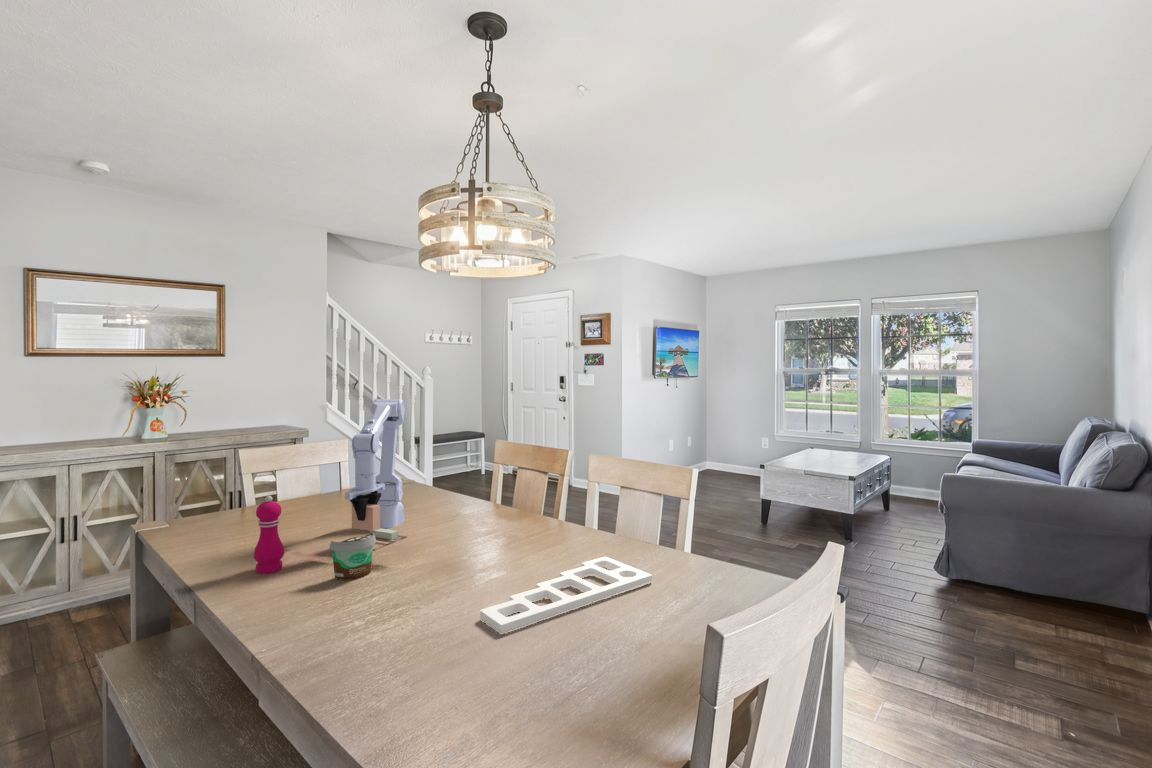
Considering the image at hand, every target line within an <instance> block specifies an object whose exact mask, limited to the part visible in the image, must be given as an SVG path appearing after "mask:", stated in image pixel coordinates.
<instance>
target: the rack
mask: <svg viewBox="0 0 1152 768" xmlns="http://www.w3.org/2000/svg"><path fill="white" fill-rule="evenodd" d="M398 537H401V538H399V539H396V540H389V539H383V538H376V543H375V545H381V546H379V547H376V548H373V552H375V551H378V550H380V549H383V548H384V547H387V546H389V545H392V544H395V543H397V542H399V541H401V540H404V539H406V538H407V536H404V535H400V534H398ZM377 541H380V542H377ZM383 542H385V543H383ZM386 542H387V543H386Z"/></svg>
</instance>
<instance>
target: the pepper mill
mask: <svg viewBox="0 0 1152 768" xmlns="http://www.w3.org/2000/svg"><path fill="white" fill-rule="evenodd" d="M264 500H265V501H264V502H262V503H260V504H258V506H257V508H256V510H255V515H256V517H257V519H259V520H258V524H257V525H258V527H259V530H260V531H259V537H258V541H257V544H256V546H255V548H254V551H253V559H254V560H255V561H256V562H257V563H256V564H255V572H256V573H257V574H262V575H263V574H272V573H276V571H277V572H279V571H280V570H282V569H283V561H282V560H281V559H282V558H283V557H284V555H285V547H284V544H283V542H282V540H281V538H280V535H279V531H278V530H279V529H278V528H279V527H278V526H279V525H280V518H279V517H280V515H281V514H282V507H281V506H282V505H280V504H279V503H278V502H276V501H273V496H271V495H267V496H266V497H265V498H264Z"/></svg>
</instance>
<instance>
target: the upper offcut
mask: <svg viewBox="0 0 1152 768" xmlns="http://www.w3.org/2000/svg"><path fill="white" fill-rule="evenodd" d="M373 533H374V535H375V538H376V539H383V540H389V541H393V540H392V539H395V538H397V537H398V535H399V530H396V529H390V528H380V529H378V530H375V531H373Z"/></svg>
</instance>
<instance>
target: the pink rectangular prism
mask: <svg viewBox="0 0 1152 768" xmlns="http://www.w3.org/2000/svg"><path fill="white" fill-rule="evenodd" d="M351 529H355V530H361V531H368V532H370V531H372V532H374V531H375V530H378V529H380V505H373V504H367V506H366V515H365V520H364V521H360V520H358V519H357V515H356V512H355V509H354V507H353V505H352V504H351Z"/></svg>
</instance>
